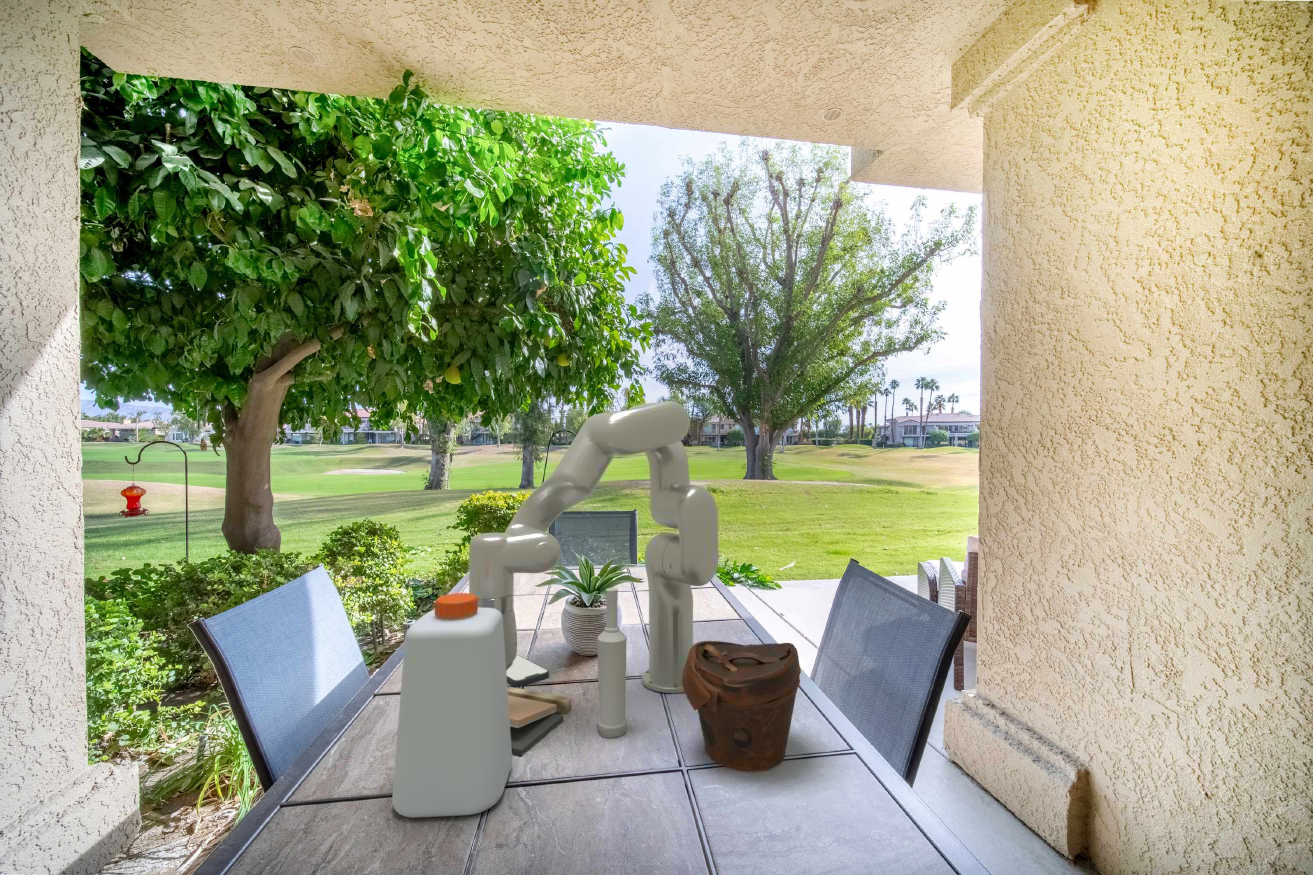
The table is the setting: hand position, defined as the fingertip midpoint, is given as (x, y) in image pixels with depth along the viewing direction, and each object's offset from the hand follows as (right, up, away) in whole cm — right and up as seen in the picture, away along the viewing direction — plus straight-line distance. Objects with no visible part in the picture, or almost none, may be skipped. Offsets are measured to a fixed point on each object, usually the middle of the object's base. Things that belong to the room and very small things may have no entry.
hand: (491, 709), depth 100 cm
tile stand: (+5, -5, +12) cm, 13 cm away
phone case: (-3, -6, +28) cm, 29 cm away
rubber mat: (+1, -4, +2) cm, 5 cm away
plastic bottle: (-1, -4, -16) cm, 16 cm away
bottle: (+21, -5, +1) cm, 22 cm away
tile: (+4, -4, +9) cm, 11 cm away
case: (+43, -4, -6) cm, 44 cm away
